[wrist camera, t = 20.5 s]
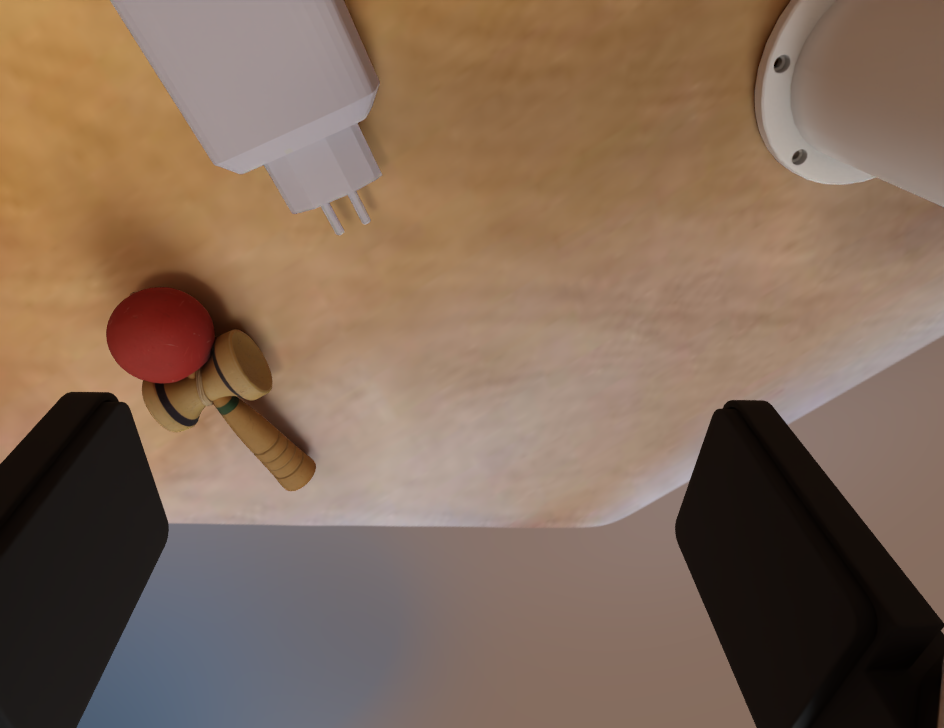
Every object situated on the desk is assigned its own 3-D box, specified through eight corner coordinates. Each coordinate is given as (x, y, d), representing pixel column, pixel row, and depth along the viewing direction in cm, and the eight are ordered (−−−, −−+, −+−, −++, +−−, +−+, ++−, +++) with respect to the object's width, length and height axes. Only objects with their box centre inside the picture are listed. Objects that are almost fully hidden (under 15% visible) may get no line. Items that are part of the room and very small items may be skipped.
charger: (293, 242, 37) (133, -24, 29) (427, 185, 35) (297, -111, 27) (275, 273, 33) (85, -25, 25) (426, 211, 31) (273, -127, 23)
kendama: (354, 429, 47) (197, 251, 35) (336, 497, 42) (150, 318, 31) (276, 448, 49) (107, 287, 38) (251, 514, 45) (51, 354, 33)
